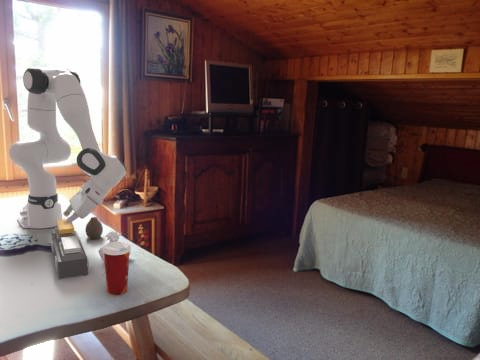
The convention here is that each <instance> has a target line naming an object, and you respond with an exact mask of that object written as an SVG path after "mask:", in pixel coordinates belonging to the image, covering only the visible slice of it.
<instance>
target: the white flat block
mask: <svg viewBox="0 0 480 360" xmlns="http://www.w3.org/2000/svg"><path fill="white" fill-rule="evenodd" d="M61 243H62V247H63V250H64V253H65V254H69V253H77V252H81V247H80V244H79V242H78V239H77V237H76V236H71V237H62V238H61Z"/></svg>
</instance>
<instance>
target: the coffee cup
mask: <svg viewBox="0 0 480 360" xmlns="http://www.w3.org/2000/svg"><path fill="white" fill-rule="evenodd" d="M120 242H121V243H120ZM104 245H105V246H104ZM104 245H103V246H104V249H103V253H104V260H105V262H104V269H105V284H106V292H107V294H109V295H111V296H120V295H124V294H125V293H127V290H128V281H129V279H128V278H129V265H130V263H129V262H130V255H129V251H130V250H131V251H132V248H131V249H130V247H129V245H130V244H129V243H128V242H125V241H118V242H112V243H109V242H108V243H107V244H104Z"/></svg>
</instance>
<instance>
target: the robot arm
mask: <svg viewBox="0 0 480 360" xmlns="http://www.w3.org/2000/svg"><path fill="white" fill-rule="evenodd" d="M22 82H23V86H24V88H25V89H26V90H27V92H28V96H27V113H26V114H27V125H28V127H29V128H30V129H31V130H33V131H34V132H37V133H39V137H40V139H23V140H19V141H15V142H12V144H11V145H10V147H9V149H8V156H9V158H10V161H12V162H13V163H14V164H15V165H17V166H18V167H19V168H21V169H22V170H23V172H24V173H25V174H26V178H27V182H28V191H29V192H28V193H29V194H28V197H27V203H26V204H25V205H24V206H23V207H22V210H20V211H19V215H20V216H18V217H17V219H16V220H17V222H18V223H19V225H20V226H21V228H22V229H39V230H40V229H49V228H56V227H57V220H66V222H67V223H68V224H71V223H72V224H73V222H74V221H75V220H77V219H78V218H80V219H82V220H83V219H85V218H86V217H88V216H89V214H91V213H92V212H94V210H95V209H96V208H97V207H98V206H101V205H102V204H103V203H104V200H105V199H104V198H105V197H106V196H107V195H108V194H109V192H110V191H111V189H113V188H114V187H116V186H117V185H118V184H119V183H120V181H122V179H123V178H124V176H126V174H127V171H128V170H127V167H126V165H125V164H124V162H123V161H122V159H120V157H119V156H117V155H110V154H107V153H105V152H102V151H101V149H100V147H99V144H98V142H97V139H96V136H95V133H94V131H93V125H92V121H91V116H90V115H91V114H90V109H89V104H88V101H87V97H86V94H85V92H84V89H83V88H82V86H81V79H80V77H79V74H78V73H77V72H76V71H73V70H71V69H68V68H67V69H64V68H59V67H37V66H33V67H29V68H27V69H26V70H25V72H24V73H23V75H22ZM57 108H58V110H59V112H60V115H61V117H62V118H63V120H64V121H65V122H66V123H67V124H68V125H69V127H70V128H71V129H72V130H73V132H74V133H75V134H76V136H77V138H78V140H79V145H80V146H81V149H82V150H80V151H79V153H78V154H77V156H76V164H77V166H78V168H79V169H80V170H81V171H82V172H83V173H85V174H86V175H87V176H88V177H89V179H87V180H86V181H85V183H83V184H82V186H80V189H79V190H78V191H77V192H76V193H75V194H74V195H73V196H72V197H71V198H70V199H69V205H68V206H67V208H66V209H65V211H62V205H61V204H60V203H59V202H58V200H59V199H58V198H59V194H58V193H57V178H56V177H55V175H54V174H53V173H51V172H49V171H46V170H45V169H44V165H45V164H46V165H47V164H48V165H49V164H57V163H61V162H65V161H68V159H69V158H70V156H71V153H72V150H71V149H72V148H71V146H70V144H69V142H68V141H66V139H64V137H62V136H61V134H60V133H59V131H58V126H57ZM62 212H63V213H62ZM71 213H72V214H71ZM70 214H71V215H70ZM63 216H65V217H66V218H64V217H63Z"/></svg>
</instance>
